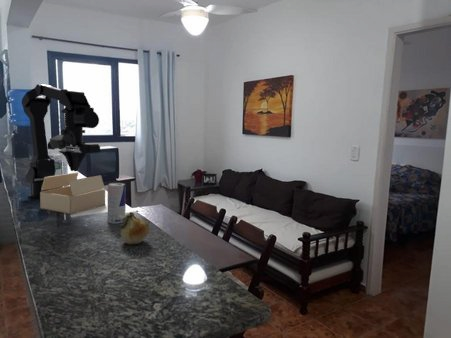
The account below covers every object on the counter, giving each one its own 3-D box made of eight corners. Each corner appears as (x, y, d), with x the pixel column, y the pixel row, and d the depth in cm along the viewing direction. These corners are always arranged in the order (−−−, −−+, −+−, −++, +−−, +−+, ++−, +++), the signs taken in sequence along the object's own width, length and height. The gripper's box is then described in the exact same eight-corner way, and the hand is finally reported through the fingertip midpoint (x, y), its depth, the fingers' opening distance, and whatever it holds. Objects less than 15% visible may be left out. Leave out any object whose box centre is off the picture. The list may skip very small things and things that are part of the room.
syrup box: (54, 186, 152) (54, 155, 150) (43, 185, 153) (42, 154, 151) (63, 184, 158) (62, 154, 156) (52, 183, 159) (51, 153, 157)
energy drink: (128, 220, 107) (129, 183, 105) (118, 224, 102) (118, 186, 100) (114, 218, 108) (115, 182, 107) (103, 222, 103) (103, 184, 102)
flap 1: (41, 190, 114) (41, 190, 114) (75, 184, 128) (74, 183, 128) (45, 177, 113) (44, 177, 113) (78, 172, 127) (78, 172, 127)
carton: (39, 209, 114) (39, 191, 114) (76, 199, 130) (76, 184, 129) (71, 214, 110) (71, 197, 109) (105, 204, 125) (105, 188, 124)
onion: (121, 249, 82) (121, 218, 81) (117, 239, 90) (118, 210, 89) (151, 246, 86) (152, 216, 84) (146, 236, 93) (146, 208, 92)
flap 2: (68, 180, 110) (69, 180, 109) (100, 175, 124) (100, 175, 123) (72, 195, 110) (73, 195, 109) (104, 188, 124) (104, 188, 123)
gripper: (33, 125, 112) (34, 170, 114) (77, 128, 105) (77, 176, 107) (60, 125, 122) (60, 167, 124) (101, 128, 116) (101, 172, 118)
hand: (73, 171), depth 118 cm, fingers closed
